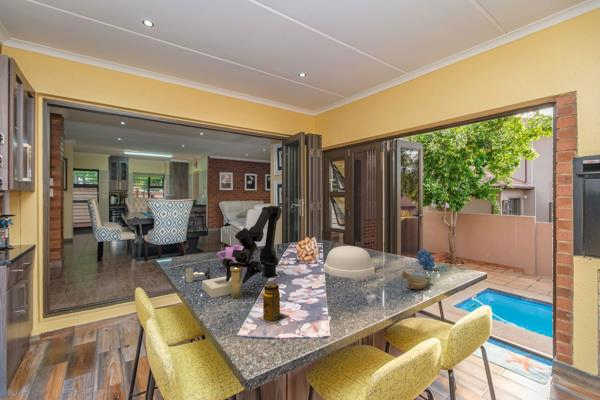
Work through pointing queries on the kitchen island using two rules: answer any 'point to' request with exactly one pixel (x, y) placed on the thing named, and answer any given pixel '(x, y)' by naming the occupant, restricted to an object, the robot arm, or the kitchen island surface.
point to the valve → (195, 274)
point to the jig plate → (217, 287)
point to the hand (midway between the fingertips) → (234, 282)
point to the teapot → (230, 253)
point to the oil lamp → (415, 281)
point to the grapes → (425, 259)
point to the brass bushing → (236, 281)
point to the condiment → (271, 304)
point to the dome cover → (349, 262)
